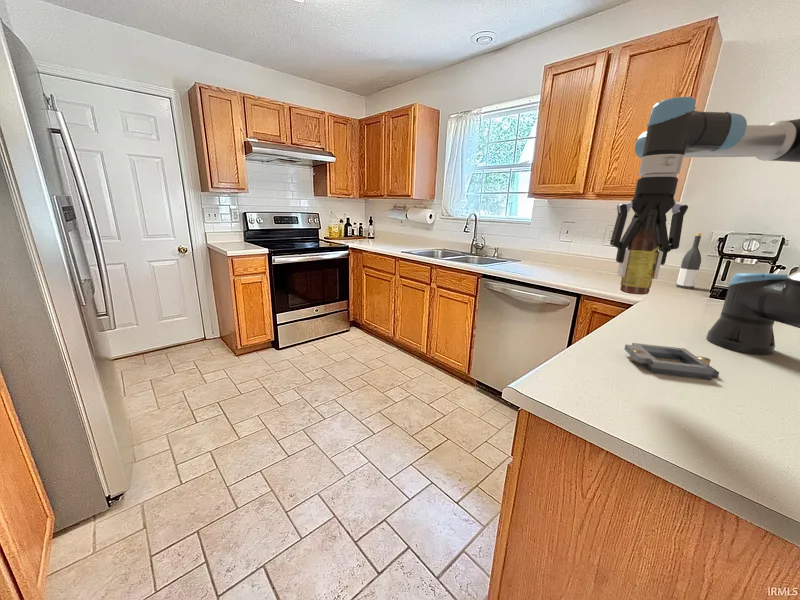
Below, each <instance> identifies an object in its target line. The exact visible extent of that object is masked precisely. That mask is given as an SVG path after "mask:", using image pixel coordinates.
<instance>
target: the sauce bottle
mask: <svg viewBox="0 0 800 600" xmlns="http://www.w3.org/2000/svg"><path fill="white" fill-rule="evenodd" d="M657 216H658V210H650V211H649V212H648V214H647V215H646V218H645V219H644V221H643V222H642V223H641V224H640V226H639V228H638V229H637V231H636V233H635V235H634V236H633V238H632V240H631V242H630V243H629V245H628V247H627V248H626V249H627V250H630V253H629V258H628V263H627V268H626V273H625V277H620V278H621V279H620V291H621V292H623V293H625V294H630V295H631V294H632V295H640V296H641V295H648V294H649V293H650V290H651V287H652V282H653V274H654V270H655V264H656V260H657V254H658V251H659V241H658V236H657V231H656V225H657V219H656V218H657Z"/></svg>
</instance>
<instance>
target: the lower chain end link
mask: <svg viewBox="0 0 800 600" xmlns="http://www.w3.org/2000/svg"><path fill="white" fill-rule="evenodd" d="M647 352H649V353H650V354H651V355H652V356H653V357H654V358H657V359H658V358H660V359H667V360H678V361H680V363H685V364H692V363H690V362H689V361H688V360H686V359H685V358H684V357H682V356H681V355H677V354H668V353H659V352H650V351H647ZM696 357H697V358H698V359H701V360H702V361H703V362H705V363H706V364H708V365H709V366H710V363H711V361H712V360H711V359H710V358H707V357H705V356H700V355H699V356H696ZM640 365H642V366H643V368H644V367H645V369H646V370H648V372H650V374H657V375H665V376H673V377H681V378H690V379H697V380H698V379H699V380H707V381H711V380H712V378H714V379H717V378H719V375H720V372H719V371H718V370H717V369H716V368H714V367H712V368H713V369H714V372H713V375H711V374H702V373H694V372H686V371H677V370H669V369H661V368H652V367H651V366H650V365H649V364H644V363H641V364H640Z"/></svg>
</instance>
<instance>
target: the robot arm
mask: <svg viewBox="0 0 800 600" xmlns="http://www.w3.org/2000/svg"><path fill="white" fill-rule="evenodd" d="M696 102H697V101H696V99H695V98H693V97H692V96H677V97H671V98H666V99H663V100H661V101H659V102H656V103H655V104H654V105H653V106H652V109H651V112H650V115H649V118H648V119H649V120H648V122H647V125H646V127H647V128H646V130H645V131H644V132H642V133H641V134H640V135H639V136H638V137H637V139H636V141H635V145H634V153H635V154H636V156H637V157H638V159H640V166H639V170H638V176H639V177H640V178H638V179H637V180H636V185H635V191H634V196H633V198H632V200H631V201H630V202H628V203H627V202H626V203H619V204H618V205H617V206H616V208H617V209H616V210H617V216H616V220H615V223H614V224H615V225H614V229H613V231H612V234H611V235H612V236H611V238H610V242H609V245H610V246H611V247H615V248H616V249H617V253H616V257H615V261H616V263H618V269H617V272H616V273H617V274H616V275H617V277H618V276H619V277H620V278H622V277H625V273H626V268H627V263H628V258H629V253H630V250H627V247H628V245H629V243H630V242H631V240H632V238H633V236H634V235H635V233H636V231H637V229H638V228H639V226H640V224H641V223H642V222H643V221H644V219H645V218H646V215H647V214H648V212H649V211H650V210H658V216H657V218H656V219H657V225H656V231H657V236H658V241H659V249H658V254H657V260H656V264H655V270H654V274H653V279H654V280H658V277H659V273H660V267H661V266H664V265H665V264H666V260H667V255H668V253H669V252H671V250H677V249H679V248H680V243H681V234H682V229H683V222H684V217H685V214H686V212H687V211H688V209H689V206H688V204H680V203H676V201H675V198H674V197H675V195H676V191H677V186H678V182H679V178H678V177H677V175H679V174H680V172H681V169H682V164H683V160H684V158H744V157H745V158H746V157H747V158H748V157H750V158H752V157H753V158H756V159H758V160H760V161H766V162H768V161H770V162H774V161H775V162H788V163H789V162H790V163H791V162H793V163H800V118H797V119H796V118H795V119H790V120H789V119H788V120H777V121H775V122H774V121H773V122H771V123H770V124H758V125H757V124H756V125H755V124H752V125H751V124H748V123H747V120H746V117H745V116H744V115H742V114H740V113H733V112H730V111H724V112H719V111H698V110H696V109H697V107H696ZM631 208H632V211H633V212H634V214H633V216H632V218H631V222H630V223H629V225H628V227H627V228H626V231H625V232H623V231H624V228H625V226H626V222H627V218H628V213H629V212H630V211H631ZM669 211H671V213H672V214H671V220H670V227H669V233H668V228H667V222H668V221H667V215H666V214H667V213H668V212H669ZM623 233H624V234H623ZM622 235H623V236H622ZM798 265H799V266H798V269H797V270H796V271H794V272H793V273H791V274H786V273H785V274H784V273H766V272H737V273H735V274H734V275H733V276H732V278H731V280H730V282H729V284H728V289H727V291H726V296H725V298H724V301H723V302H724V303H723V306H722V309H721V312H720V316H719V318H718V319H717V320H716V322H715V323H714V324H713V325H712V326H711V328H710V329H709V330H708V331H707V334H706V336H705V337H706V340H707V341H708V342H710V343H712V344H714V345H717V346H719V347H722V348H725V349H729V350H732V351H737V352H742V353H746V354H747V353H748V354H755V355H772V354H774V350H775V347H776V343H775V336H774V334H775V333H774V324H775V322H776V323H780V324H784V325H787V326H790V327H794V328H798V329H800V264H798ZM653 279H652V280H653Z"/></svg>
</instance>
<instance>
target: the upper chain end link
mask: <svg viewBox="0 0 800 600" xmlns="http://www.w3.org/2000/svg"><path fill="white" fill-rule="evenodd" d="M624 351H625V352H626V353H627V354H628V355H629V359H628V360H629V362H631V363H633V364H637V365H639V364H640V365H642V364H641V363H644V364H649V365H650V366H651V367H652V368H661V369H669V370H677V371H686V372H694V373H702V374H711V375H713V372H714V369H715V368H714V367H712V366H711V365H710V364H709V365H708V364H706V363H705V362H703V361H702V360H701V359H698V358H697V356H696V355H695V354H694V353H692V352H691V351H689V350H688V349H686V348H683V347H677V346H676V347H675V346H664V345H657V344H655V345H654V344H646V343H645V344H644V343H639V342H638V343H637V342H636V343H635V342H632V344H625V346H624ZM647 351H650V352H659V353H668V354H677V355H681V356H682V357H684V358H685V359H686V360H688V361H689V362H690V363H692V364H685V363H682V362H674V361H666V360H658V358H656V357H653V356H652V355H651V354H650V353H649V352H647ZM713 368H714V369H713Z"/></svg>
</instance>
